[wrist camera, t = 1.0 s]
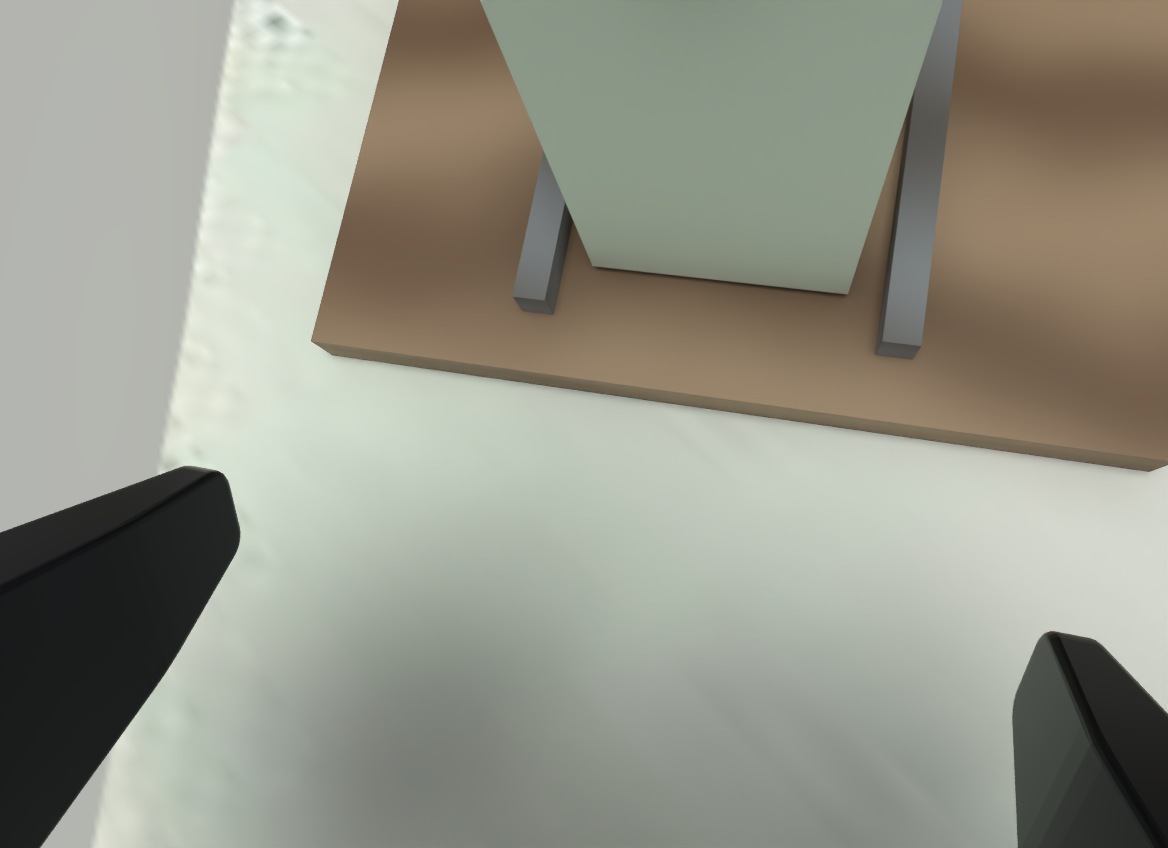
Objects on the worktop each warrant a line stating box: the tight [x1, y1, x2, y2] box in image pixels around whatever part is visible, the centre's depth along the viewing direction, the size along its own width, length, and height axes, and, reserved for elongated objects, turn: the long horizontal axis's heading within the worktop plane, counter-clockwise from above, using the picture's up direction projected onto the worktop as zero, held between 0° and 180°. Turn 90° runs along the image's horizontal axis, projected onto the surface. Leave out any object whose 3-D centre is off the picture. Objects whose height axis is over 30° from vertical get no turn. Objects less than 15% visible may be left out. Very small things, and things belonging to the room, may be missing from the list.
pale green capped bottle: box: [480, 0, 943, 294], centre depth 14 cm, size 4×6×13 cm
